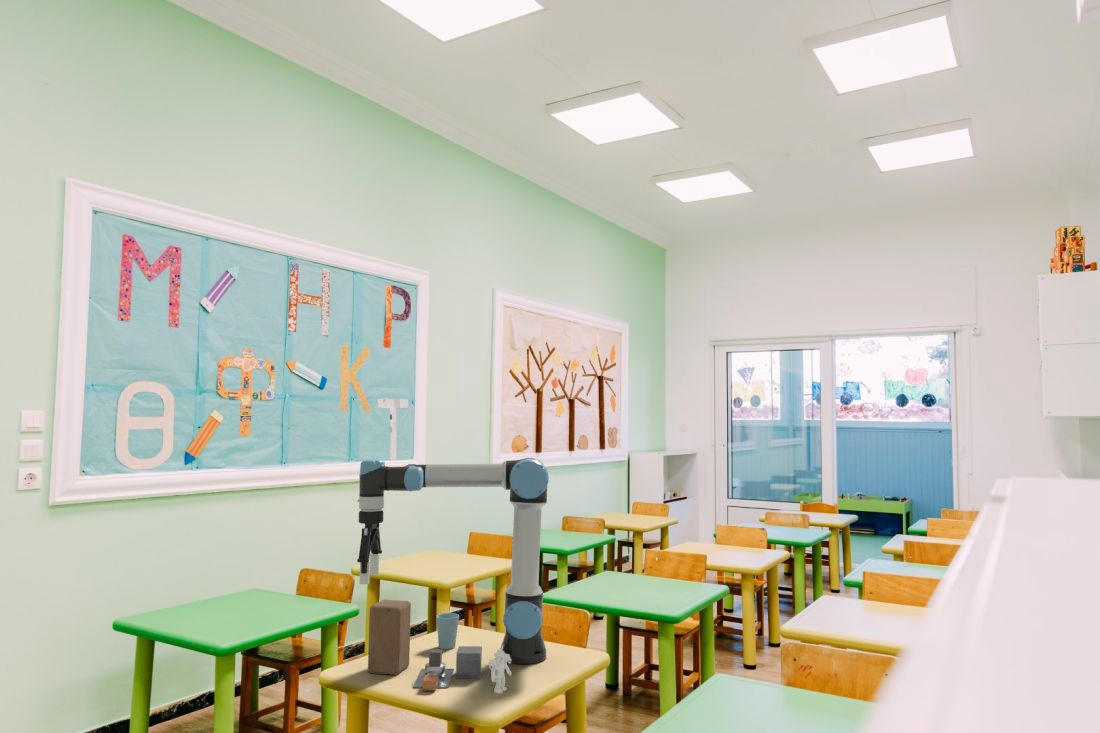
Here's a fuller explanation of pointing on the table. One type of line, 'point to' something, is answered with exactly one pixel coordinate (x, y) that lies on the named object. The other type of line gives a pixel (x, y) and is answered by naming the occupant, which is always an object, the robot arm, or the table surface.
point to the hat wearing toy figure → (499, 669)
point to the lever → (434, 673)
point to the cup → (447, 630)
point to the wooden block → (389, 637)
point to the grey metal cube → (468, 662)
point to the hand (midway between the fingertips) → (369, 579)
